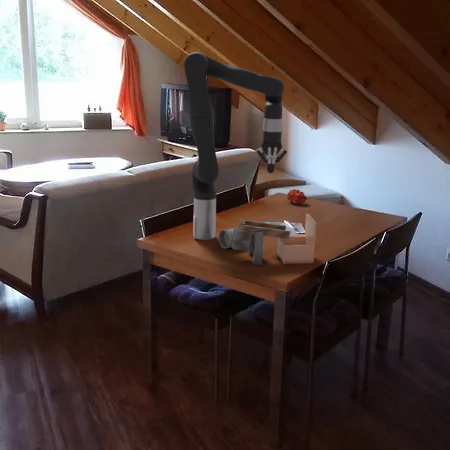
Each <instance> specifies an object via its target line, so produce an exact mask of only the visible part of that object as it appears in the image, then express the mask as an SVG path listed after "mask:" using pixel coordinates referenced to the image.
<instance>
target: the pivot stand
mask: <svg viewBox="0 0 450 450" xmlns="http://www.w3.org/2000/svg"><path fill="white" fill-rule="evenodd" d="M263 251H264V236H263V231H254V234H252V237H251V242H250V247H249V251H247V253H248V254H249V255H248V256H253V257H252V258H253V260H252V264H253V265H254V266H261V265H263Z"/></svg>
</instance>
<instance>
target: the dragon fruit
mask: <svg viewBox="0 0 450 450" xmlns="http://www.w3.org/2000/svg"><path fill="white" fill-rule="evenodd" d="M286 199H287V200H288V201H290V203H291V204H295V205H299V206H301V205H302V204H303V203H306V200H307V201H308V197H307V195H306V194H305V192H303V191H301V190H300V189H297V188H296V189H295V188H293V189H290V190H289V191H288V192H287V196H286Z"/></svg>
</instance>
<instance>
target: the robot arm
mask: <svg viewBox="0 0 450 450" xmlns="http://www.w3.org/2000/svg"><path fill="white" fill-rule="evenodd" d="M183 69H184V73H185V77H186V82H187V89H188V112H189V116H188V117H189V124H190V125H189V126H190V130H191V133H192V138H193V140H194V143H195V146H196V149H197V160H196V161H195V162H194V164H193V165H192V170H191V179H192V180H191V181H192V182H191V183H192V192H193V216H192V217H193V219H192V220H193V221H192V224H193V225H192V226H193V227H192V228H193V229H192V230H193V232H192V233H193V235H192V236H193V239H194V240H202V241H208V240H213V239H215V238H216V225H217V223H216V219H217V217H216V216H217V191H216V189H215V184H214V182H216V181H217V179H218V178H219V173H220V170H219V169H220V168H219V163H218V158H217V153H216V146H215V145H216V144H215V131H214V130H215V129H214V127H215V126H214V115H213V108H212V103H211V99H210V95H209V91H208V80H207V79H208V77H209V78H214V79H217V80H220V81H221V80H222V81H224V82H226V83H229V84H231V85H232V86H233V85H234V86H235V87H236V86H237V87H239V88H243V89H246V90H250V91H253V92H258V93H260V94H263V95H265V98H264V101H265V104H264V112H263V113H264V114H263V123H262V141H261V142H262V143H261V144H260V147H259V148H257V149H255V152H256V153H257V155H258V156H259V158H260V159H261V160H262V162H264V164H266V172H267V173H268V174H273V173H274V172H275V164H276V163H280V161H281V160H283V158H284V157H285V155H286V154H287V152H288V151H287V149H284V148H283V145H282V134H283V105H282V104H283V103H282V101H283V92H284V90H285V85H284V83H283V81H282V79H279V78H277V77H273V76H272V77H271V76H268V75H264V74H260V73H259V72H256V71H253V70H250V69H247V68H243V67H239V66H234V65H231V64H228V63H224V62H221V61H218V60H216V59H213V58H212V57H209V56H207V55H206V54H204V53H203V52H199V51H195V52H191V53H189V54H188V55H187V56H186V57H185V59H184V62H183ZM263 152H264V154H265V155H266V156H264V155H263ZM265 157H266V158H265Z"/></svg>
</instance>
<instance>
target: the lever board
mask: <svg viewBox="0 0 450 450" xmlns="http://www.w3.org/2000/svg"><path fill="white" fill-rule="evenodd" d="M238 224H239V225H238V226H233V229H234V230H233V236H232V241H231V245H232V247H231V248H232V249H233V250H236V251H237V250H239V251H244V252H249V247H250V242H251V237H252V234H254V231H263V237H264V236H265V237H271V238H277V239H278V238H285V239H289V236H291V231H290V230H286V229H287V225H284V224H283V225H282V224H280V223H277V222H271V221H264V222H261V221H254V220H246V219H242V218H240V220H239V223H238Z"/></svg>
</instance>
